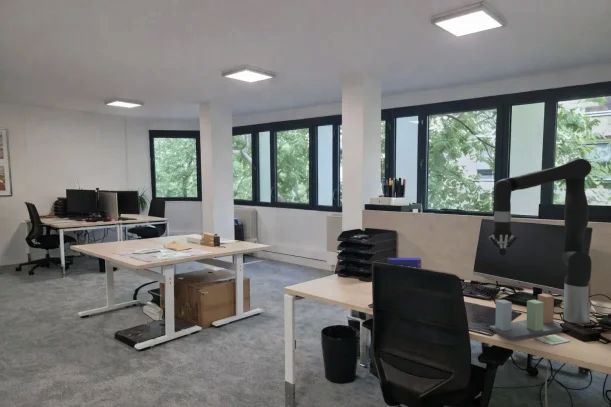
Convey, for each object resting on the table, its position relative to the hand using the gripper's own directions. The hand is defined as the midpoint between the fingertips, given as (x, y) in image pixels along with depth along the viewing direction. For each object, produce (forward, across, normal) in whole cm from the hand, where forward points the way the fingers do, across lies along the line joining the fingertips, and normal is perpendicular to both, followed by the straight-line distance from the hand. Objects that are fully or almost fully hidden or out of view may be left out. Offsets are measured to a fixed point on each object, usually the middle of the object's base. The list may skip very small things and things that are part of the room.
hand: (502, 255), depth 194 cm
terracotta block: (+27, +14, -14) cm, 34 cm away
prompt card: (+29, +9, -32) cm, 44 cm away
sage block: (+27, +5, -24) cm, 37 cm away
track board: (+29, +4, -21) cm, 36 cm away
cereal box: (+29, -45, +17) cm, 56 cm away
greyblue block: (+27, -8, -24) cm, 37 cm away
